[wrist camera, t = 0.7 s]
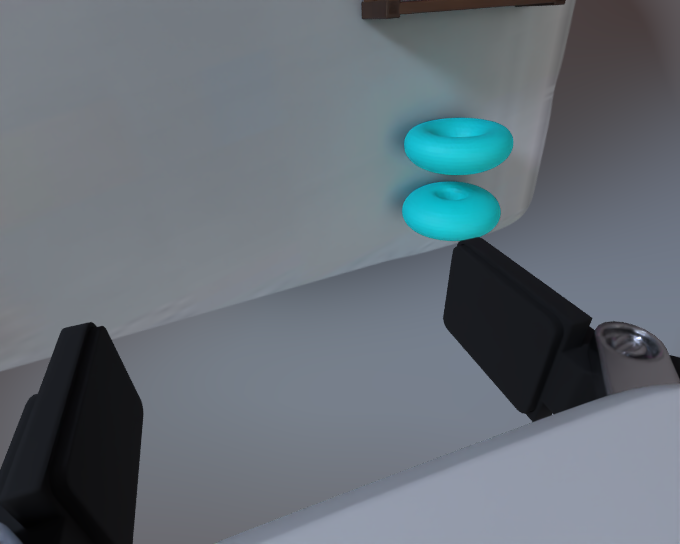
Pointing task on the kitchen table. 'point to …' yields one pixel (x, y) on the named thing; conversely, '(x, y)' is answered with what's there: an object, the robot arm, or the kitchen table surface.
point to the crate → (438, 6)
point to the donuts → (455, 159)
